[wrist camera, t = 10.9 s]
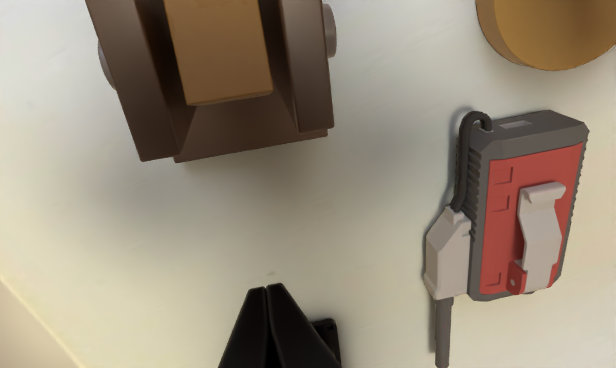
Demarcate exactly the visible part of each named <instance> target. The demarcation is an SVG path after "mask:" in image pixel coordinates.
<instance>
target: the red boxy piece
mask: <svg viewBox="0 0 616 368" xmlns="http://www.w3.org/2000/svg"><path fill="white" fill-rule="evenodd" d="M476 120H480V122H481V123H479V124H474V125H473V123H474V122H475V121H476ZM589 132H590V131H589V130H588V128H587V126H586V125H585V123H584V122H581V121H578V120H576V119H573V118H570V117H568V116H565V115H562V114H559V113H557V112H554V111H551V110H547V111H542V112H537V113H532V114H527V115H521V116H516V117H511V118H506V119H500V120H495V121H491V119H490V117H489V116H488V115H487V114H484V113H483V112H479V111H471V112H469V113H467V114H466V116H465V117H464V118H463V119H462V122H461V125H460V128H459V137H458V138H457V140H458V144H457V148H458V149H457V154H456V156H457V162H456V165H457V169H456V178H455V180H456V185H455V188H456V192H455V196H454V197H453V199H452V201H451V205H450V206H445V210H444V211H443V213H442V214H441V215H440V217H439V218H438V219H437V221H436V222H435V224H434V225H433V226H432V228H431V229H430V230H429V232H428V233H427V236H426V272H425V273H424V284H425V286H426V287H427V289H428V290H429V292H430V293H431V295H432V296H433V298H434V303H435V304H436V320H435V341H436V353H435V365H436V366H437V368H447V367H448V366H449V349H450V327H451V306H452V305H453V301H454V296H457V295H462V294H466V293H467V294H468V295H469V297H470V298H471V299H472V300H474V301H491V300H495V299H499V298H503V297H508V296H512V295H519V294H532V293H534V291H537V290H540V289H544V288H549V287H551V286H552V284H553V283H554V282H555V281H556V280H557V279H558V278H559V277H560V276H561V271H562V266H563V261H564V256H565V251H566V246H567V241H568V236H569V231H570V226H571V217H572V216H573V213H572V212H573V209H574V202H575V201H576V198H575V197H576V193H577V191H578V190H577V187H578V185H579V177H580V176H581V174H580V172H581V169H582V166H583V165H582V162H583V160H584V152H585V151H586V148H585V147H586V142H587V141H588V139H587V137H588V133H589Z"/></svg>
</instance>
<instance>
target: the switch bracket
mask: <svg viewBox="0 0 616 368" xmlns="http://www.w3.org/2000/svg"><path fill="white" fill-rule="evenodd" d="M85 2H86V5H87V8H88V11H89V14H90V17H91V19H92V22H93V25H94V28H95V31H96V34H97V37H98V54H99V59H100V63H101V66H102V69H103V72H104V74H105V76H106V79H107V80H108V82H109V84H110V85H111V87H112V88H113V89H114V90H116V91H117V94H118V97H119V100H120V103H121V106H122V109H123V111H124V114H125V117H126V120H127V123H128V126H129V129H130V132H131V135H132V137H133V140H134V143H135V146H136V149H137V152H138V155H139V158H140V160H141V162H145V161H151V160H156V159H162V158H168V157H173V159H174V162H175V163H180V162H186V161H191V160H197V159H202V158H208V157H214V156H219V155H225V154H231V153H236V152H242V151H247V150H253V149H259V148H264V147H270V146H275V145H281V144H287V143H292V142H298V141H303V140H309V139H315V138H320V137H326V136H327V135H328V132H327V129H330V128H333V127H334V115H333V105H332V95H331V85H330V75H329V64H328V58H331V57H334V56H335V53H336V44H337V39H336V27H335V21H334V16H333V13H332V10H331V8H330V6H329V5H328V4H322V0H258V2H259V8H260V13H261V19H262V25H263V30H264V36H265V42H266V47H267V53H268V58H269V64H270V70H271V75H272V81H273V86H274V91H273V92H272V93H271V94H270V95H265V96H259V97H253V98H247V99H241V100H235V101H229V102H223V103H217V104H211V105H205V106H192V105H187V104H186V101H185V97H184V92H183V88H182V83H181V79H180V74H179V70H178V66H177V61H176V57H175V52H174V48H173V43H172V39H171V34H170V30H169V26H168V21H167V17H166V12H165V8H164V3H163V0H85Z"/></svg>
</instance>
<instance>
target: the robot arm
mask: <svg viewBox="0 0 616 368" xmlns="http://www.w3.org/2000/svg"><path fill="white" fill-rule="evenodd" d="M329 325H331V326H329ZM218 368H342V365H341V357H340V349H339V341H338V334H337V326H336V323H335V320H333V319H331V318H330V319H324V320H319V321H315V322H309V320H308V319H307V317H306V316H305V315H304V313H303V312H302V310H301V309H300V307H299V306H298V305H297V303H296V302H295V300H294V299H293V298H292V296H291V295H290V293H289V292H288V290H287V289H286V288H285V286H284V285H283V284H282V283H276V284H271V285H268V286H267V287H266V288H265V287H263V286H262V287H257V288H252V289H250V290H249V291H248V293H247V295H246V298H245V300H244V303H243V305H242V308H241V310H240V313H239V315H238V318H237V320H236V323H235V325H234V328H233V330H232V333H231V336H230V338H229V341H228V343H227V346H226V348H225V351H224V353H223V356H222V358H221V361H220V363H219V366H218Z"/></svg>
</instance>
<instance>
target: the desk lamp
mask: <svg viewBox="0 0 616 368" xmlns="http://www.w3.org/2000/svg"><path fill="white" fill-rule="evenodd" d="M476 6H477V14H478V18H479V22H480V25H481V28H482V30H483V33H484V35H485V36H486V38H487V40H488V42H489V43H490V44H491V46H492V47H493V48H494V49H495V50H496V51H497V52H498V53H499V54H500V55H501V56H503V57H504V58H506V59H508V60H509V61H512V62H514V63H517V64H520V65H524V66H528V67H532V68H536V69H541V70H547V71H559V70H566V69H571V68H575V67H578V66H580V65H583V64H586V63H588V62H590V61H592V60H593V59H595V58H597V57H599V56H600V55H602V54H603V53H605V52H606V51H608V50H609V49H610V48H611V47H613V46H614V45H615V44H616V0H476Z"/></svg>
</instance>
